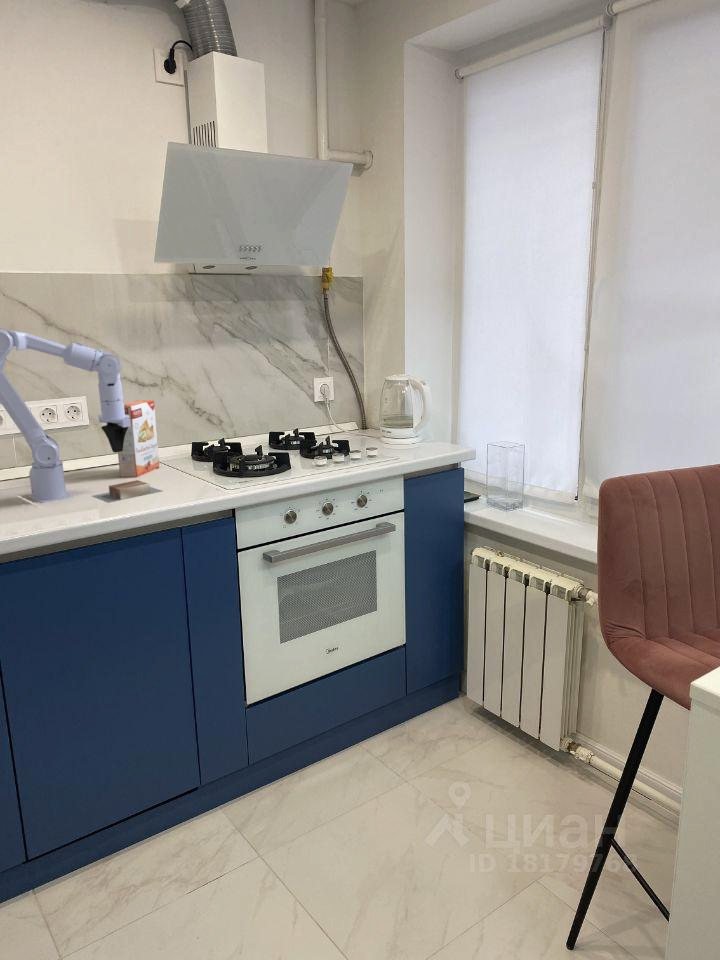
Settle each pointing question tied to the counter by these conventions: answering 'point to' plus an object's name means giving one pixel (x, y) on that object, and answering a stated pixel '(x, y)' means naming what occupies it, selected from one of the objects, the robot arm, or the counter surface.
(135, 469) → the cracker box
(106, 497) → the mat
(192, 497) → the counter surface
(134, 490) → the slab
